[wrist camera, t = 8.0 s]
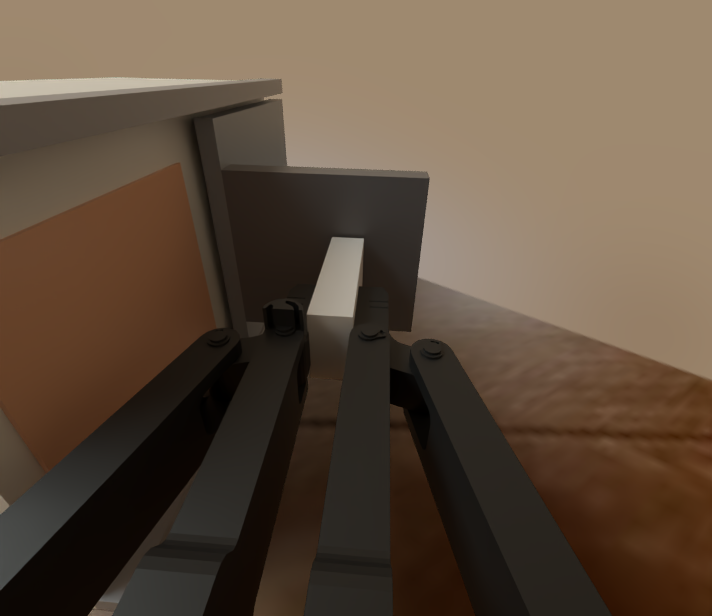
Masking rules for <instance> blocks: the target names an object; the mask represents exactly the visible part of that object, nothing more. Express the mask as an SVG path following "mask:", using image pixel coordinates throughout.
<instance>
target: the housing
mask: <svg viewBox="0 0 712 616" xmlns="http://www.w3.org/2000/svg"><path fill="white" fill-rule="evenodd" d="M281 93H282V81H281V79H250V80H237V81H232V80H194V79H193V80H191V79H190V80H189V79H155V78H154V79H153V78H117V77H115V78H85V79H84V78H83V79H51V80H20V81H0V514H2V513H3V512H4V511H5V510H6V509H7V508H8V507H9V506H11V505H12V504H13V503H14V502H15V501H16V500H17V499H18V498H20V497H21V496H22V495H23V494H24V493H25V492H26V491H27V490H28V489H30V488H31V487H32V486H33V485H34V484H35V483H36V482H37V481H39V480H40V479H41V478H42V477H43V476H44V475H45V474H46V473H48V472H49V471H50V470H51V469H52V468H53V467H54V466H55V465H57V464H58V463H59V462H60V461H61V460H62V459H63V458H64V457H66V456H67V455H68V454H69V453H70V452H71V451H72V450H73V449H75V448H76V447H77V446H78V445H79V444H80V443H81V442H82V441H84V440H85V439H86V438H87V437H88V436H89V435H90V434H91V433H93V432H94V431H95V430H96V429H97V428H98V427H99V426H100V425H101V424H103V423H104V422H105V421H106V420H107V419H108V418H109V417H110V416H112V415H113V414H114V413H115V412H116V411H117V410H118V409H119V408H121V407H122V406H123V405H124V404H125V403H126V402H127V401H128V400H130V399H131V398H132V397H133V396H134V395H135V394H136V393H137V392H139V391H140V390H141V389H142V388H143V387H144V386H145V385H146V384H148V383H149V382H150V381H151V380H152V379H153V378H154V377H155V376H157V375H158V374H159V373H160V372H161V371H162V370H163V369H164V368H166V367H167V366H168V365H169V364H170V363H171V362H172V361H173V360H174V359H176V358H177V357H178V356H179V355H180V354H181V353H182V352H183V351H185V350H186V349H187V348H188V347H189V346H190V345H191V344H192V343H194V342H195V341H196V340H197V339H198V338H199V337H200V336H202V335H203V334H205V333H206V332H208V331H211V330H213V329H218V328H231V329H233V324H232V318H231V313H230V308H229V303H228V297H227V292H226V287H225V282H224V276H223V271H222V266H221V261H220V255H219V250H218V245H217V240H216V234H215V229H214V224H213V219H212V213H211V208H210V203H209V198H208V192H207V187H206V182H205V177H204V171H203V166H202V161H201V156H200V151H199V145H198V140H197V135H196V130H195V124H194V119H193V118H197V117H201V116H205V115H209V114H213V113H217V112H221V111H225V110H229V109H233V108H237V107H240V106H244V105H248V104H252V103H256V102H260V101H264V97H267V96H272V95H276V94H281ZM233 330H234V329H233ZM264 330H265V325H263V327H262V329H261V331H260V333H259V335H261V334H263V332H264ZM199 468H200V467H199ZM199 468H198V470H197V471H196V472H195V474H194V475H193V476H192V478H191V479H190V480H189V482H188V483H187V484H186V486H185V487H184V488H183V490H182V491H181V492H180V494H179V495H178V496H177V498H176V499H175V500H174V502H173V503H172V504H171V506H170V507H169V508H168V510H167V511H166V512H165V514H164V515H163V516H162V518H161V519H160V520H159V521H158V523H157V524H156V525H155V527H154V528H153V529H152V531H151V532H150V533H149V535H148V536H147V537H146V539H145V540H144V541H143V543H142V544H141V545H140V547H139V548H138V549H137V551H136V552H135V553H134V555H133V556H132V557H131V559H130V560H129V561H128V563H127V564H126V565H125V567H124V568H123V569H122V571H121V572H120V573H119V575H118V576H117V577H116V578H115V580H114V581H113V582H112V584H111V585H110V586H109V588H108V589H107V590H106V592H105V593H104V594H103V596H102V597H101V598H100V600H99V601H98V602H97V604H96V605H95V606H94V608H93V609H100V610H109V611H115V609H116V607H117V605H118V603H119V601H120V599H121V597H122V595H123V593H124V591H125V589H126V587H127V585H128V583H129V581H130V579H131V577H132V575H133V573H134V571H135V569H136V567H137V566H138V564H139V562H140V561H141V559H142V557H143V556H144V555H145V554H146V553H147V551H148V550H149V549H150V548H152V547H154V546H157V545H160V544H162V543H163V542H164V541H165V539H166V538H167V536H168V534H169V532H170V530H171V528H172V526H173V524H174V522H175V520H176V517H177V515H178V513H179V511H180V509H181V507H182V505H183V503H184V500H185V498H186V496H187V494H188V492H189V490H190V488H191V485H192V483H193V481H194V479H195V477H196V475H197V473H198V471H199Z"/></svg>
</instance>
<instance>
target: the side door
mask: <svg viewBox="0 0 712 616" xmlns="http://www.w3.org/2000/svg"><path fill="white" fill-rule="evenodd" d="M193 119H194V124H195V130H196V135H197V140H198V145H199V151H200V156H201V161H202V166H203V171H204V177H205V182H206V187H207V192H208V198H209V203H210V208H211V213H212V219H213V224H214V229H215V234H216V240H217V245H218V250H219V255H220V261H221V266H222V271H223V276H224V282H225V287H226V292H227V297H228V303H229V308H230V313H231V318H232V324H233V329H234V330H236V331H237V332H238V333H239V334H240V339H241V338H247V337H254V336H258V335H259V333H260V331H261V329H262V327H263V325H264V318H263V310H262V308H263V307H264V305H265V304H267V303H269V302H271V301H273V300H277V299H286V298H287V296H288V293H289V291H290V289H292V288H293V287H294V286H296V285H297V284H310V285H316V284H317V281H318V278H319V275H320V272H321V269H322V266H323V263H324V260H325V257H326V254H327V251H328V248H329V245H330V242H331V239H332V237H342V238H364V252H363V282H362V286H364V287H383V288H384V289H385V290H386V292H387V293H388V330H391V331H407V332H411V326H412V318H413V310H414V302H415V293H416V285H417V277H418V268H419V261H420V251H421V243H422V236H423V228H424V219H425V210H426V203H427V195H428V187H429V176H428V173H427V172H419V171H394V170H366V169H339V168H314V167H290V166H287V161H286V148H285V134H284V120H283V107H282V99H268V100H264V101H260V102H256V103H252V104H248V105H244V106H240V107H237V108H233V109H229V110H225V111H221V112H217V113H213V114H209V115H205V116H201V117H197V118H193Z"/></svg>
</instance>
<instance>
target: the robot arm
mask: <svg viewBox="0 0 712 616" xmlns="http://www.w3.org/2000/svg"><path fill="white" fill-rule="evenodd" d="M363 252H364V238H342V237H332V239H331V242H330V245H329V248H328V251H327V254H326V257H325V260H324V263H323V266H322V269H321V272H320V275H319V278H318V281H317V284H316V285H310V284H297V285H296V286H294V287H293V288H292V289H290V291H289V293H288V296H287V298H286V299H277V300H273V301H271V302H269V303H267V304H265V305H264V307H263V308H262V310H263V318H264V325H265V330H264V332H263V334H261V335H258V336H254V337H247V338H241V339H240V334H239V333H238V332H237V331H236V330H233V329H231V328H218V329H213V330H211V331H208V332H206V333H205V334H203V335H202V336H200V337H199V338H198V339H197V340H196V341H195V342H194V343H192V344H191V345H190V346H189V347H188V348H187V349H186V350H185V351H183V352H182V353H181V354H180V355H179V356H178V357H177V358H176V359H174V360H173V361H172V362H171V363H170V364H169V365H168V366H167V367H166V368H164V369H163V370H162V371H161V372H160V373H159V374H158V375H157V376H155V377H154V378H153V379H152V380H151V381H150V382H149V383H148V384H146V385H145V386H144V387H143V388H142V389H141V390H140V391H139V392H137V393H136V394H135V395H134V396H133V397H132V398H131V399H130V400H128V401H127V402H126V403H125V404H124V405H123V406H122V407H121V408H119V409H118V410H117V411H116V412H115V413H114V414H113V415H112V416H110V417H109V418H108V419H107V420H106V421H105V422H104V423H103V424H101V425H100V426H99V427H98V428H97V429H96V430H95V431H94V432H93V433H91V434H90V435H89V436H88V437H87V438H86V439H85V440H84V441H82V442H81V443H80V444H79V445H78V446H77V447H76V448H75V449H73V450H72V451H71V452H70V453H69V454H68V455H67V456H66V457H64V458H63V459H62V460H61V461H60V462H59V463H58V464H57V465H55V466H54V467H53V468H52V469H51V470H50V471H49V472H48V473H46V474H45V475H44V476H43V477H42V478H41V479H40V480H39V481H37V482H36V483H35V484H34V485H33V486H32V487H31V488H30V489H28V490H27V491H26V492H25V493H24V494H23V495H22V496H21V497H20V498H18V499H17V500H16V501H15V502H14V503H13V504H12V505H11V506H9V507H8V508H7V509H6V510H5V511H4V512H3V513H2V514H0V616H88V614H89V613H90V612H91V610H92V609H93V608H94V606H95V605H96V604H97V602H98V601H99V600H100V598H101V597H102V596H103V594H104V593H105V592H106V590H107V589H108V588H109V586H110V585H111V584H112V582H113V581H114V580H115V578H116V577H117V576H118V575H119V573H120V572H121V571H122V569H123V568H124V567H125V565H126V564H127V563H128V561H129V560H130V559H131V557H132V556H133V555H134V553H135V552H136V551H137V549H138V548H139V547H140V545H141V544H142V543H143V541H144V540H145V539H146V537H147V536H148V535H149V533H150V532H151V531H152V529H153V528H154V527H155V525H156V524H157V523H158V521H159V520H160V519H161V518H162V516H163V515H164V514H165V512H166V511H167V510H168V508H169V507H170V506H171V504H172V503H173V502H174V500H175V499H176V498H177V496H178V495H179V494H180V492H181V491H182V490H183V488H184V487H185V486H186V484H187V483H188V482H189V480H190V479H191V478H192V476H193V475H194V474H195V472H196V471H197V470H198V468H199V467H200V468H199V471H198V473H197V475H196V477H195V479H194V481H193V483H192V485H191V488H190V490H189V492H188V494H187V496H186V498H185V500H184V503H183V505H182V507H181V509H180V511H179V513H178V515H177V517H176V520H175V522H174V524H173V526H172V528H171V530H170V532H169V534H168V536H167V538H166V539H165V541H164V542H163V543H162V544H160V545H157V546H154V547H152V548H150V549H149V550H148V551H147V553H146V554H145V555H144V556H143V557H142V559H141V561H140V562H139V564H138V566H137V567H136V569H135V571H134V573H133V575H132V577H131V579H130V581H129V583H128V585H127V587H126V589H125V591H124V593H123V595H122V597H121V599H120V601H119V603H118V605H117V607H116V609H115V611H114V613H113V615H112V616H253V612H254V606H255V601H256V597H257V593H258V589H259V585H260V581H261V576H262V572H263V568H264V564H265V560H266V556H267V552H268V548H269V544H270V540H271V536H272V532H273V528H274V524H275V520H276V516H277V512H278V508H279V504H280V500H281V496H282V492H283V487H284V483H285V479H286V475H287V471H288V467H289V463H290V459H291V455H292V451H293V447H294V443H295V439H296V435H297V431H298V427H299V423H300V419H301V415H302V411H303V407H304V402H305V398H306V394H307V390H308V380H307V377H308V373H309V369H310V378H318V379H333V380H343V382H342V388H341V395H340V402H339V409H338V415H337V422H336V429H335V436H334V442H333V449H332V456H331V462H330V469H329V476H328V483H327V489H326V496H325V503H324V510H323V516H322V523H321V530H320V536H319V543H318V549H317V554H316V558H315V559H314V561H313V565H312V569H311V573H310V579H309V585H308V591H307V598H306V604H305V610H304V616H393V583H392V568H391V563H390V404H393V405H396V406H399V407H402V408H403V410H404V415H405V418H406V421H407V423H408V426H409V429H410V432H411V435H412V437H413V440H414V443H415V446H416V449H417V452H418V454H419V457H420V460H421V463H422V466H423V469H424V471H425V474H426V477H427V480H428V483H429V485H430V488H431V491H432V494H433V497H434V500H435V502H436V505H437V508H438V511H439V514H440V516H441V519H442V522H443V525H444V528H445V531H446V533H447V536H448V539H449V542H450V545H451V548H452V550H453V553H454V556H455V559H456V562H457V564H458V567H459V570H460V573H461V576H462V579H463V581H464V584H465V587H466V590H467V593H468V596H469V598H470V601H471V604H472V607H473V610H474V612H475V615H476V616H612V615H611V613H610V611H609V610H608V608H607V606H606V605H605V603H604V601H603V600H602V598H601V596H600V595H599V593H598V591H597V590H596V588H595V586H594V585H593V583H592V581H591V580H590V578H589V576H588V575H587V573H586V571H585V570H584V568H583V566H582V565H581V563H580V561H579V560H578V558H577V557H576V555H575V553H574V552H573V550H572V548H571V547H570V545H569V543H568V542H567V540H566V538H565V537H564V535H563V533H562V532H561V530H560V528H559V527H558V525H557V523H556V522H555V520H554V518H553V517H552V515H551V513H550V512H549V510H548V508H547V507H546V505H545V503H544V502H543V500H542V498H541V497H540V495H539V493H538V492H537V490H536V488H535V487H534V485H533V484H532V482H531V480H530V479H529V477H528V475H527V474H526V472H525V470H524V469H523V467H522V465H521V464H520V462H519V460H518V459H517V457H516V455H515V454H514V452H513V450H512V449H511V447H510V445H509V444H508V442H507V440H506V439H505V437H504V435H503V434H502V432H501V430H500V429H499V427H498V425H497V424H496V422H495V420H494V419H493V417H492V415H491V414H490V412H489V411H488V409H487V407H486V406H485V404H484V402H483V401H482V399H481V397H480V396H479V394H478V392H477V391H476V389H475V387H474V386H473V384H472V382H471V381H470V379H469V377H468V376H467V374H466V372H465V371H464V369H463V367H462V366H461V364H460V362H459V361H458V359H457V357H456V356H455V354H454V352H453V351H452V349H451V348H450V347H449V346H448V345H447V344H445V343H443V342H441V341H438V340H434V339H422V340H418V341H417V342H415V343H413V345H412V347H411V346H407V345H404V344H401V343H399V342H397V341H396V340H394V339H393V338H392V337H391V335H390V334H389V330H388V293H387V292H386V290H385V289H384V288H383V287H364V286H362V282H363Z"/></svg>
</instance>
